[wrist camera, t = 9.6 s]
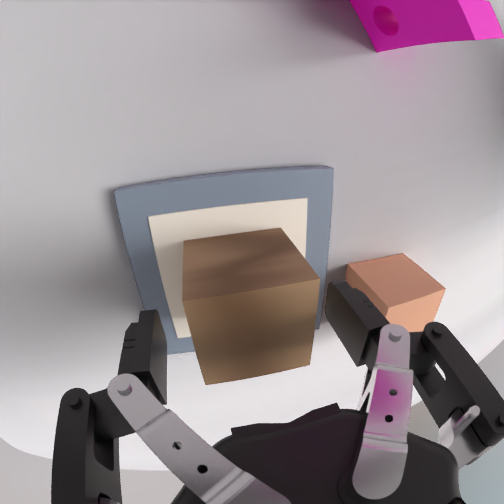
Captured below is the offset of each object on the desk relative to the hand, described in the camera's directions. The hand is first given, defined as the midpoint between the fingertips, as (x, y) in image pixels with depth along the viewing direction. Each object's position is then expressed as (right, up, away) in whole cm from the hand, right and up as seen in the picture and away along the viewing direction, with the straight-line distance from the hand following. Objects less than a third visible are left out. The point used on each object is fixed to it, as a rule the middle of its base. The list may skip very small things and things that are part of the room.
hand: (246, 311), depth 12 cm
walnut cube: (-1, +1, +3) cm, 3 cm away
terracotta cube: (+9, 0, +7) cm, 11 cm away
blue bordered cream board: (-1, +2, +3) cm, 4 cm away
